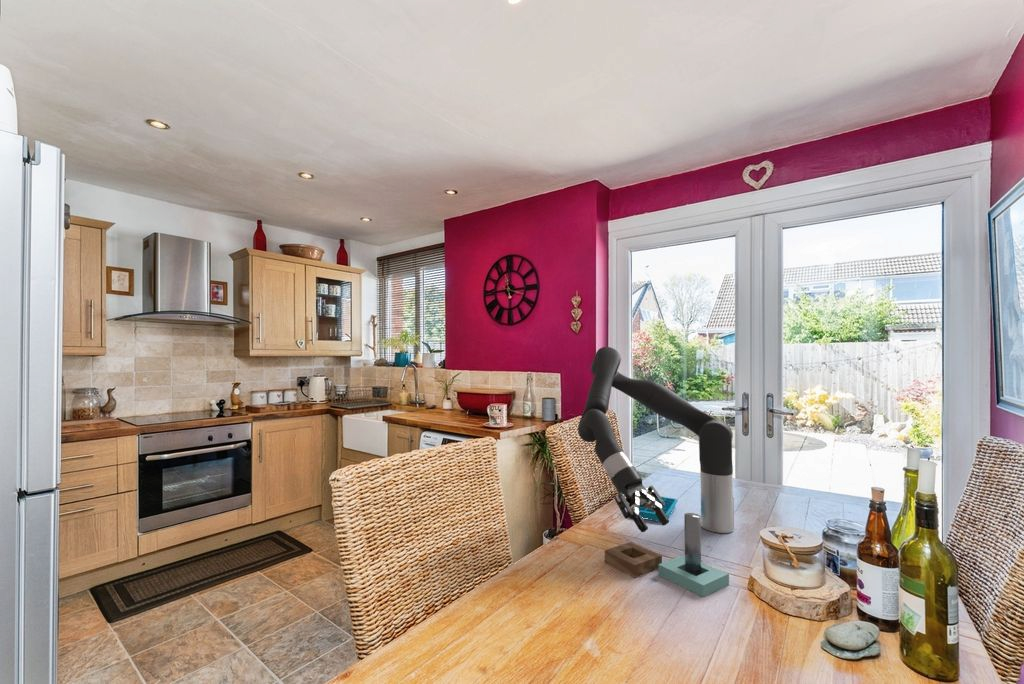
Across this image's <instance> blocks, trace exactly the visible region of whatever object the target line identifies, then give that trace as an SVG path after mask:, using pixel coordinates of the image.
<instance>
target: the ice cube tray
mask: <svg viewBox="0 0 1024 684" xmlns="http://www.w3.org/2000/svg"><path fill="white" fill-rule="evenodd" d="M660 497H661V498H662V499H663V501H664V502H665V505H664V506H663V507H662V509H663V511H664V513H665V514H666V516H667V517H669V515H670V514H671V512H672V510H673V509H674V507H675V508H676V505H677V503H678V499H677V498H673V497H667V496H661V495H660ZM649 501H650V500H649ZM656 501H657V502H658V503H659V501H658V499H656ZM653 506H654V507H656V506H655V505H653ZM674 510H675V509H674ZM674 510H673V511H674ZM672 513H673V512H672ZM638 515H641V517H643V518H648V519H652V520H657V521H660V520H659V519H658V517H657V516H656V514H655V512H654V511H652V510H651V509H650V508H646V507H645V506H644V507H639V514H638ZM671 515H672V514H671ZM671 515H670V516H671ZM669 518H670V517H669ZM657 521H656V522H657Z"/></svg>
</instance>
